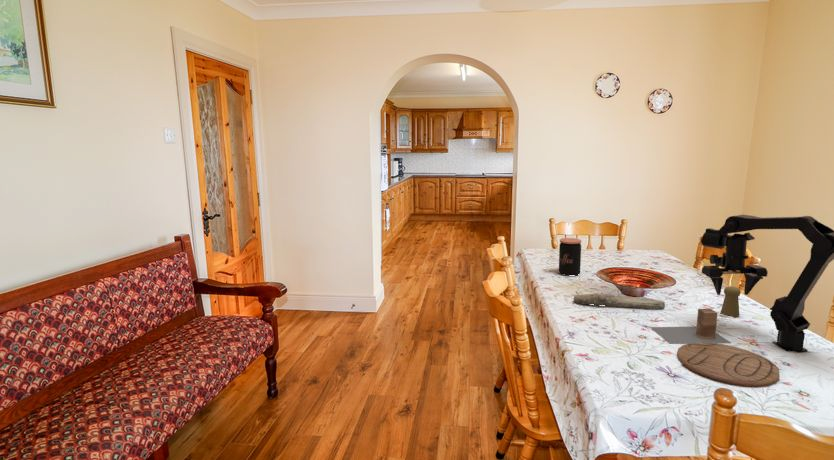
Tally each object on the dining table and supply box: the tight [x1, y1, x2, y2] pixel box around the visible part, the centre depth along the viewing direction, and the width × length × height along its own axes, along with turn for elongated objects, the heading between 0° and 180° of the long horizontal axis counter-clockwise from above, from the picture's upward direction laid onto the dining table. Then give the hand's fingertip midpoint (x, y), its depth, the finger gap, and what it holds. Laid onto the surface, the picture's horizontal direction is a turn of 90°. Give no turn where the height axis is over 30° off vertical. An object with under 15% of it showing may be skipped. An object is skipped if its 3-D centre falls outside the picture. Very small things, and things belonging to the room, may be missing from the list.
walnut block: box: [696, 308, 718, 338], centre depth 151 cm, size 4×4×9 cm
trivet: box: [676, 342, 780, 388], centre depth 132 cm, size 25×25×2 cm
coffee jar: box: [558, 237, 582, 276], centre depth 230 cm, size 11×11×18 cm
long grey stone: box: [573, 293, 666, 310], centre depth 184 cm, size 35×5×10 cm
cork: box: [720, 286, 742, 318], centre depth 169 cm, size 6×6×11 cm
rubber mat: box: [649, 326, 732, 345], centre depth 153 cm, size 14×20×1 cm
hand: (732, 294), depth 156 cm, fingers open, 9 cm apart
